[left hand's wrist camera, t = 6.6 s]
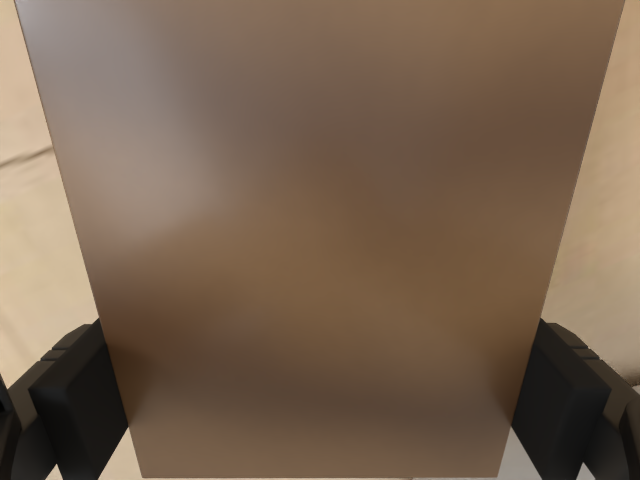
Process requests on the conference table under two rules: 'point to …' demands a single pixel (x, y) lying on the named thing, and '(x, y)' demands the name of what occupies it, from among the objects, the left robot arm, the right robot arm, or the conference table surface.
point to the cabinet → (319, 217)
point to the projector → (520, 463)
